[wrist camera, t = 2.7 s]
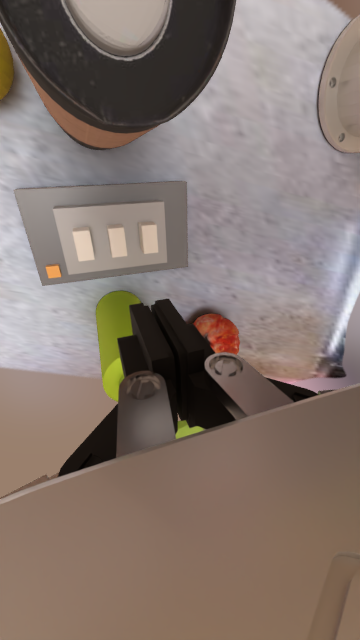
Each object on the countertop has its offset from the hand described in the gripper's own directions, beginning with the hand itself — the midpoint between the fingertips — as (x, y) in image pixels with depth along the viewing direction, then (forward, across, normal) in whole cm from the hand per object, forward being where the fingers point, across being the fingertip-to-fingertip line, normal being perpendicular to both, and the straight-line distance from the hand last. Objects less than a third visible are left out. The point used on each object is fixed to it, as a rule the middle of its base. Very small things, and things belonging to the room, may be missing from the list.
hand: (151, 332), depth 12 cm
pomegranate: (+22, -12, +15) cm, 29 cm away
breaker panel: (+22, -1, 0) cm, 22 cm away
